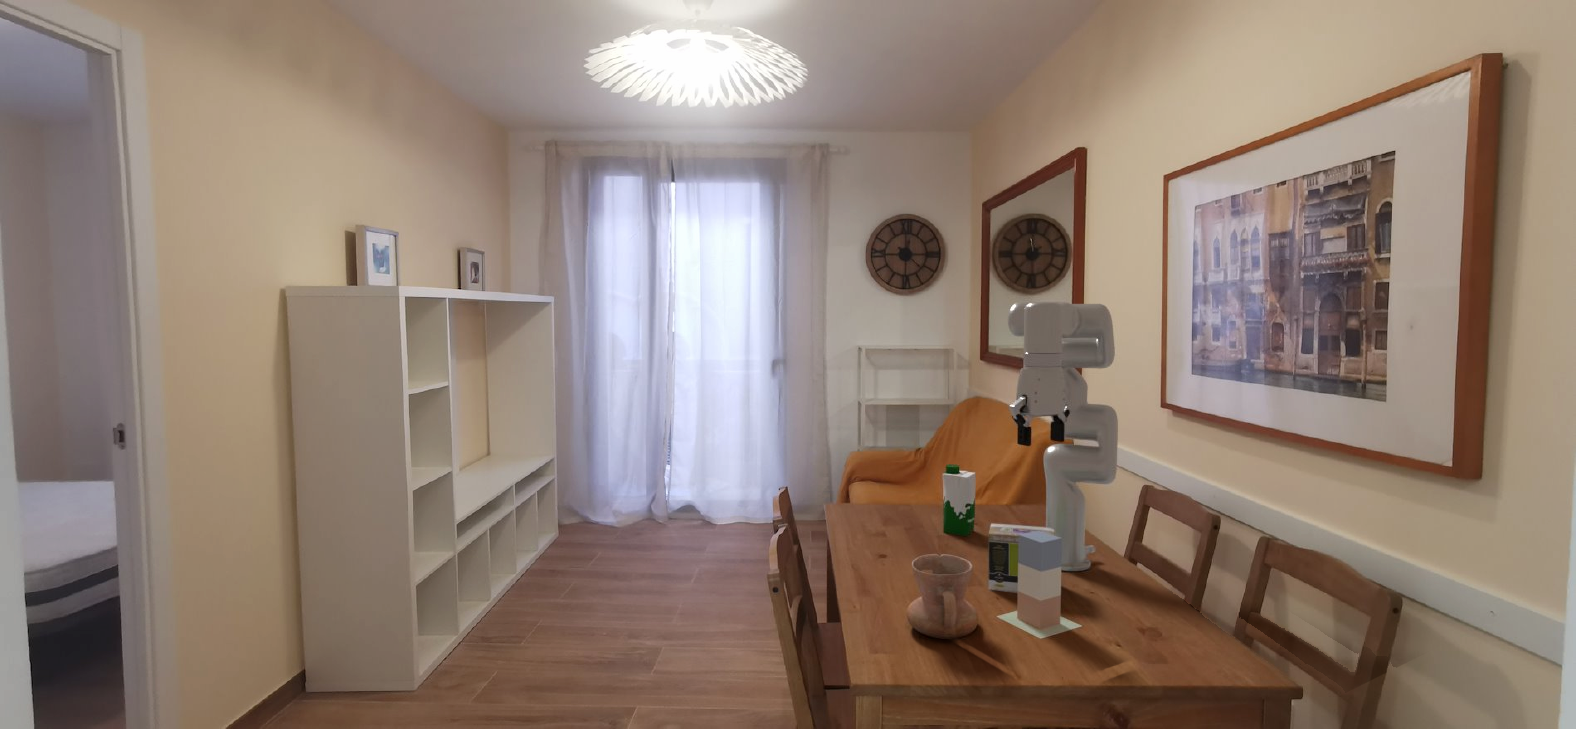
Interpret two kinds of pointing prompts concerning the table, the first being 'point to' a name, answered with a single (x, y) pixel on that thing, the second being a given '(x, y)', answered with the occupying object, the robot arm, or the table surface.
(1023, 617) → the terracotta brick
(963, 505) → the milk carton
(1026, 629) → the plate
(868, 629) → the table surface
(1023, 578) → the cream brick
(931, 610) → the ceramic jug
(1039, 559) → the slate brick
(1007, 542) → the tea box
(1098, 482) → the robot arm
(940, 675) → the table surface
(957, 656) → the table surface
